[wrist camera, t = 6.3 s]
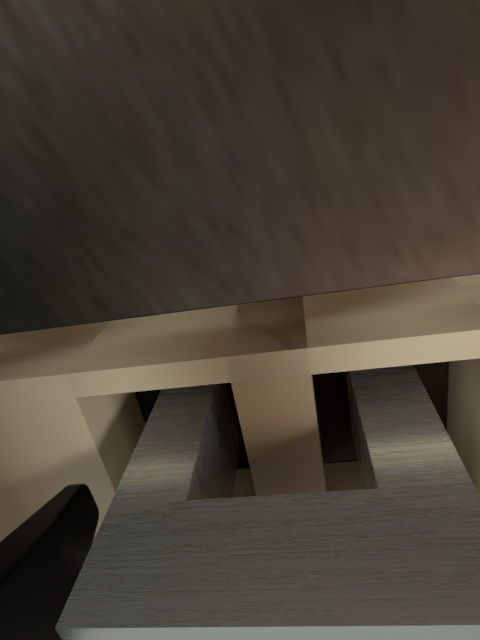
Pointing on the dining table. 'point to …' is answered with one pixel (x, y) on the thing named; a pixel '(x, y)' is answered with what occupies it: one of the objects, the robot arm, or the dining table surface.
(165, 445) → the clip
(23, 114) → the dining table surface
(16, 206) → the dining table surface
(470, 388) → the rail
